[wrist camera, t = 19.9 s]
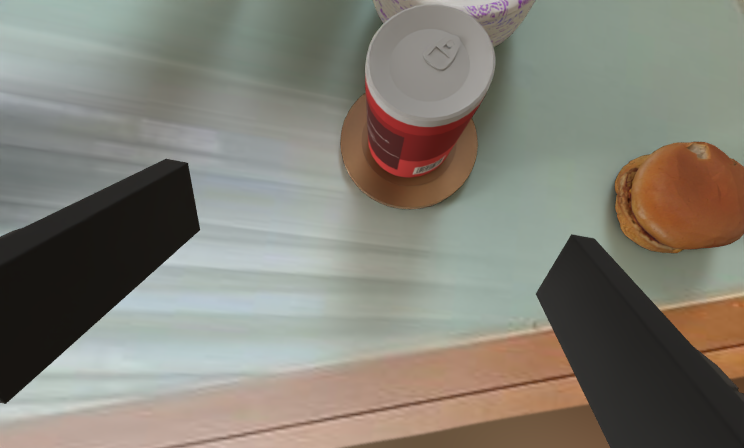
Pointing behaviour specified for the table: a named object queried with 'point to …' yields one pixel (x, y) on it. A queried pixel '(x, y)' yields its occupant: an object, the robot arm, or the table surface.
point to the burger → (681, 198)
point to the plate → (403, 189)
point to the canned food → (424, 86)
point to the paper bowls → (471, 13)
